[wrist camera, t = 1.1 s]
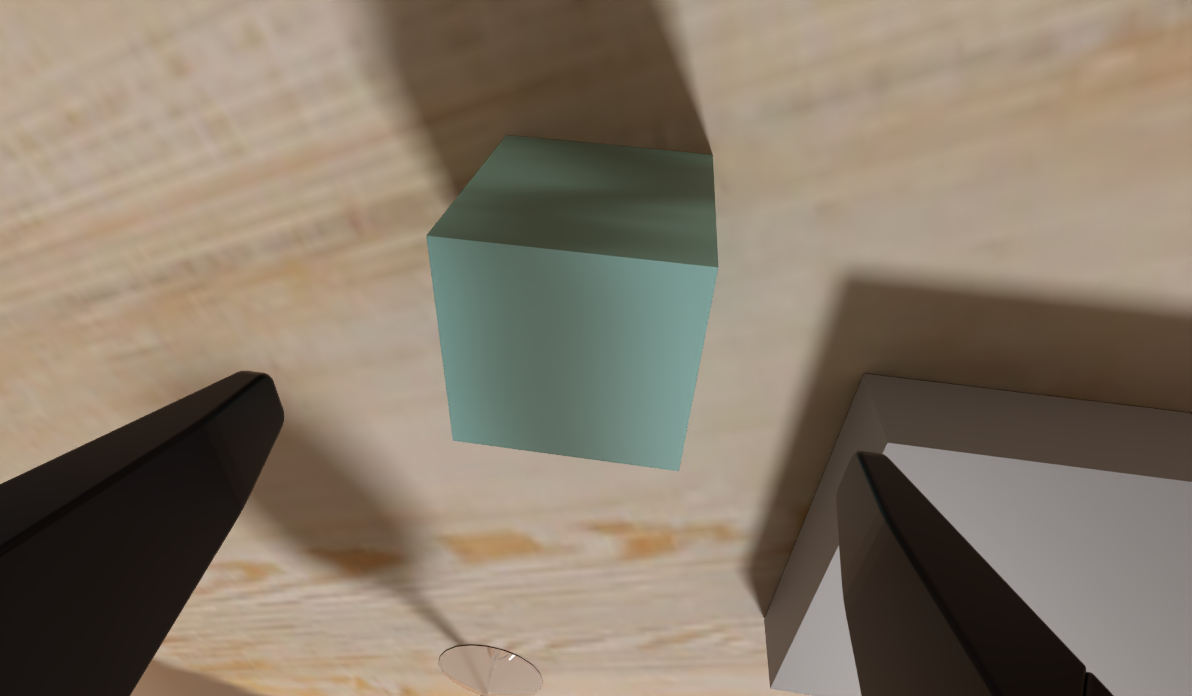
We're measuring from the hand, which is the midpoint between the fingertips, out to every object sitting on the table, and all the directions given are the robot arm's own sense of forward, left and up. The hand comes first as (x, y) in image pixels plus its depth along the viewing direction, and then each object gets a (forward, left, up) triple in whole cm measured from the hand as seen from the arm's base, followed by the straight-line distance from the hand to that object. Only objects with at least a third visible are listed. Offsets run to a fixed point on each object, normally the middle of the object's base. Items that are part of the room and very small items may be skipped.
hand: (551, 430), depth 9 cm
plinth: (-13, +9, -6) cm, 17 cm away
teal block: (0, 0, -7) cm, 7 cm away
